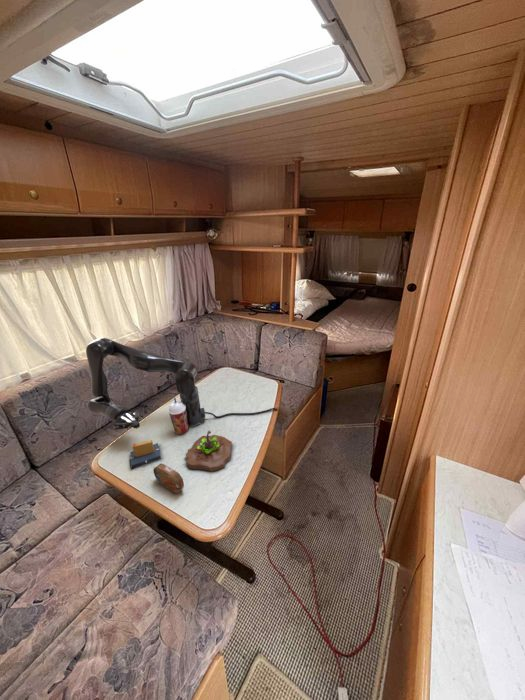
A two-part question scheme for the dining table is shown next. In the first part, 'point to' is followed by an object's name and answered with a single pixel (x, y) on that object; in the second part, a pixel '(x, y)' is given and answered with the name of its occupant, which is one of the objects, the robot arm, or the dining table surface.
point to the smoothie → (178, 416)
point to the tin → (168, 478)
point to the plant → (209, 453)
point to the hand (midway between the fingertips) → (138, 425)
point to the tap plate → (145, 457)
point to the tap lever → (143, 448)
